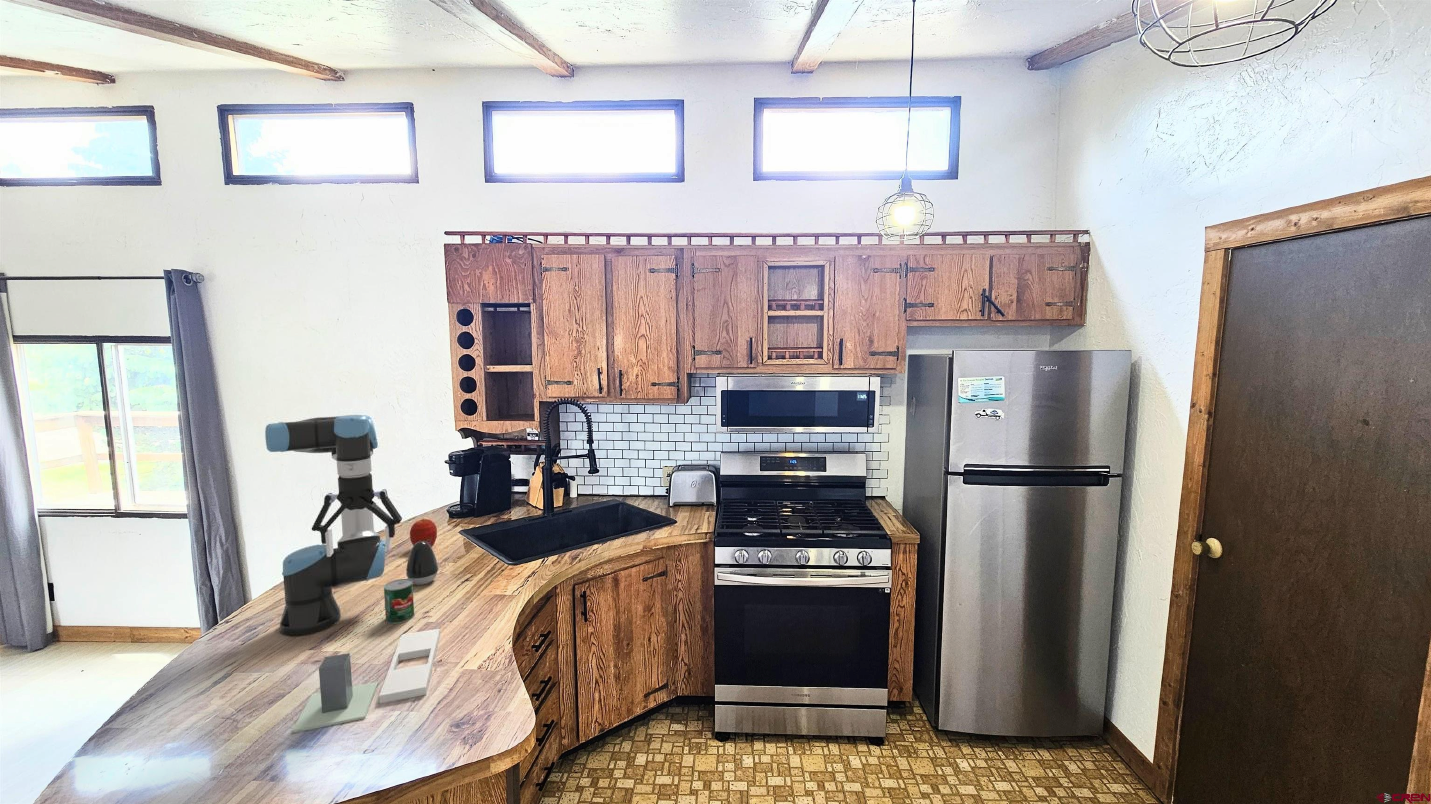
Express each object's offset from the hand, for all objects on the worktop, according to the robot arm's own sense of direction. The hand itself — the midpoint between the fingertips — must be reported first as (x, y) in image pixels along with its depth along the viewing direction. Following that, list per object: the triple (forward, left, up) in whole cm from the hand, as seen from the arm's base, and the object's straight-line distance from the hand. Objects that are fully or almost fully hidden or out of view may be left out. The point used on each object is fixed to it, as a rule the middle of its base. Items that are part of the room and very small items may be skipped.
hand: (360, 552), depth 149 cm
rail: (+12, -7, -31) cm, 34 cm away
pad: (-2, -20, -31) cm, 37 cm away
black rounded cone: (+7, +51, -31) cm, 60 cm away
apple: (+3, +86, -31) cm, 91 cm away
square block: (-2, -20, -30) cm, 36 cm away
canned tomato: (+4, +24, -31) cm, 39 cm away
